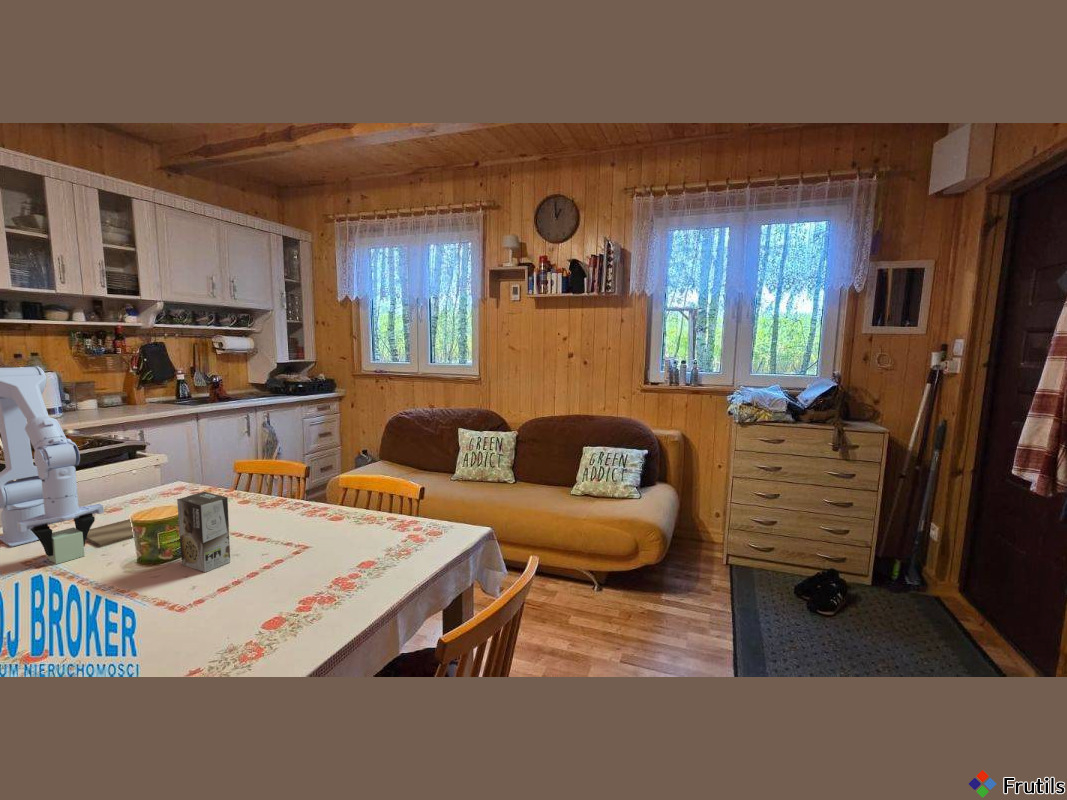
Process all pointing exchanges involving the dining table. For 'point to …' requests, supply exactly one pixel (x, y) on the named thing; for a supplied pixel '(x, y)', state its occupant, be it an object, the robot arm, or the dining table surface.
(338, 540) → the dining table surface
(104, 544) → the walnut base board
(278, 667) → the dining table surface
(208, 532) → the coffee box
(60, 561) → the sage block
